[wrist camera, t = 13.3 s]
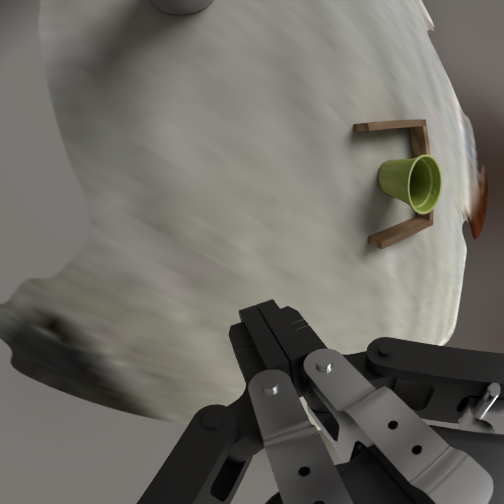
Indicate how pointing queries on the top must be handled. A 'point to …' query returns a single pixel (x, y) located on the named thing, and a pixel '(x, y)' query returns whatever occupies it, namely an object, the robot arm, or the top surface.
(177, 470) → the robot arm
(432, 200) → the plant pot
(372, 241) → the wooden u bracket
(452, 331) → the top surface
